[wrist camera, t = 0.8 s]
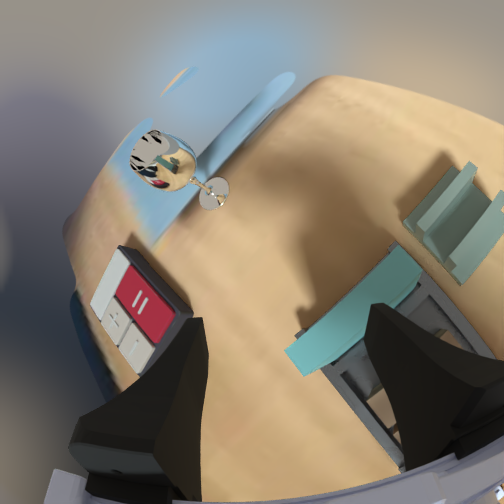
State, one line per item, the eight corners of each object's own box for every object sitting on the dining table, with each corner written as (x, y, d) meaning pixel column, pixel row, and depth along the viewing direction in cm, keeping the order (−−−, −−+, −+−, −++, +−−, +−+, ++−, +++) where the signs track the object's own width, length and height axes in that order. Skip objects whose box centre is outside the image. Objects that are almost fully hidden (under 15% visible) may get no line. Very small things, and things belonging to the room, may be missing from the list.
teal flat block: (414, 288, 23) (422, 269, 14) (338, 358, 25) (304, 376, 16) (399, 272, 24) (398, 244, 15) (325, 341, 26) (284, 350, 17)
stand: (508, 224, 20) (521, 210, 17) (460, 286, 22) (469, 280, 18) (451, 170, 24) (455, 149, 20) (402, 225, 25) (402, 210, 22)
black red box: (136, 380, 32) (85, 304, 39) (159, 376, 36) (106, 306, 43) (177, 312, 31) (114, 242, 38) (200, 313, 35) (136, 248, 42)
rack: (504, 378, 17) (515, 384, 15) (405, 462, 20) (404, 476, 17) (396, 247, 25) (395, 238, 23) (303, 334, 28) (292, 335, 25)
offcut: (460, 353, 20) (470, 358, 16) (390, 414, 21) (388, 428, 18) (441, 328, 21) (448, 329, 18) (371, 390, 23) (366, 401, 19)
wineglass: (188, 199, 39) (119, 161, 29) (216, 165, 38) (153, 117, 28) (211, 224, 36) (137, 187, 26) (242, 187, 35) (176, 137, 25)
